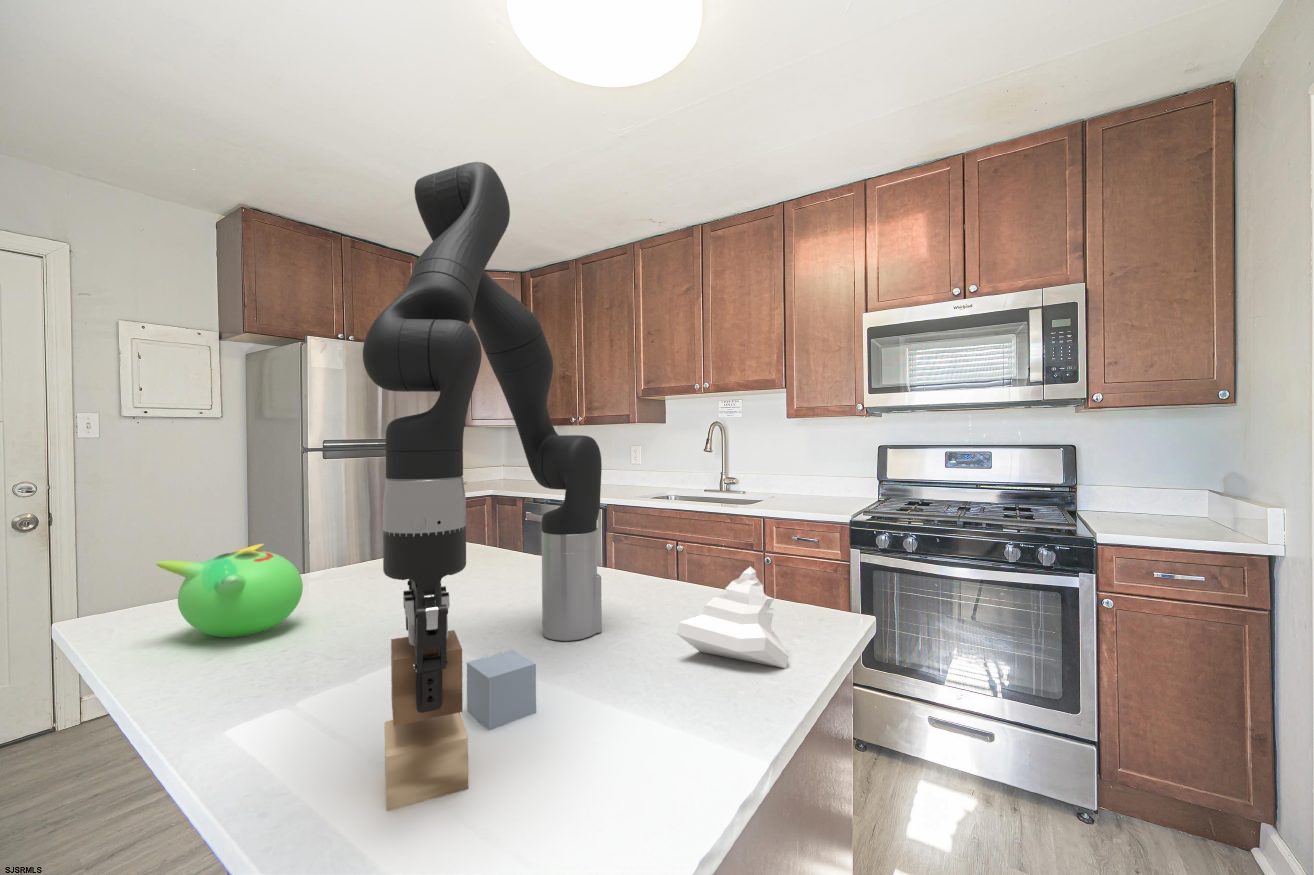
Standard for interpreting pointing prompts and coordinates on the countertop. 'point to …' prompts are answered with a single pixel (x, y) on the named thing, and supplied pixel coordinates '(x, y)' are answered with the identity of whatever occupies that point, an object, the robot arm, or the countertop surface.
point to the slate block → (501, 688)
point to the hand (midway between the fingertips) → (426, 694)
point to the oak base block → (425, 760)
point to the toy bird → (237, 591)
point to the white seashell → (737, 625)
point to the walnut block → (406, 680)
